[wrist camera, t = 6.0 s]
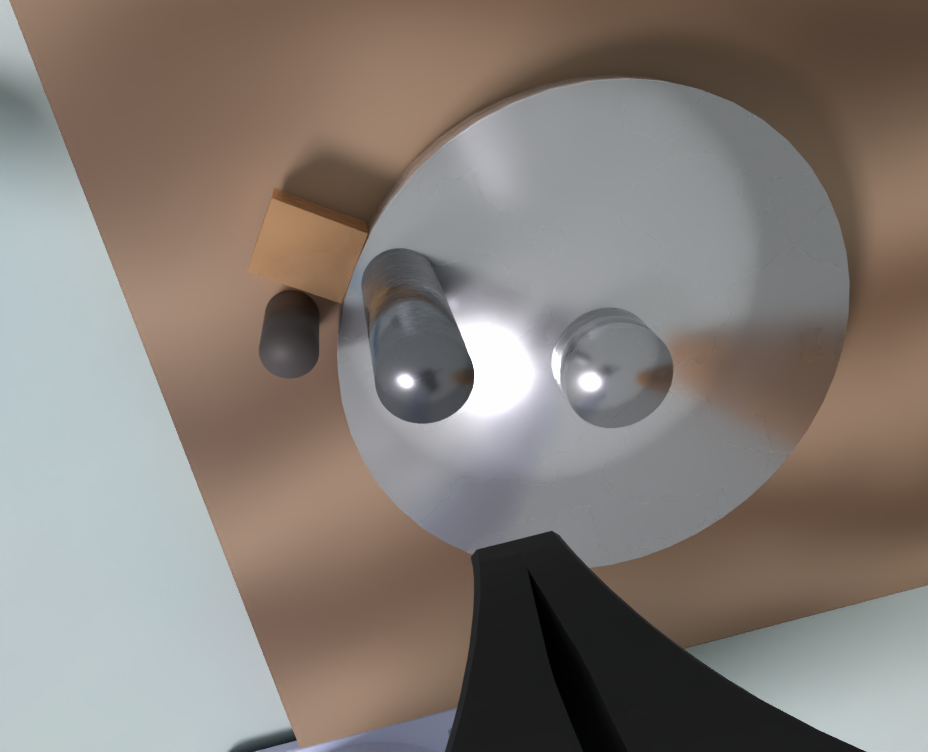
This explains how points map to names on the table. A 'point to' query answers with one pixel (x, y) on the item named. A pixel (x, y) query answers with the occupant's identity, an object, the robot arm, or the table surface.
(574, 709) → the robot arm
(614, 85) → the flange
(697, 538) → the base board
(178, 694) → the table surface
